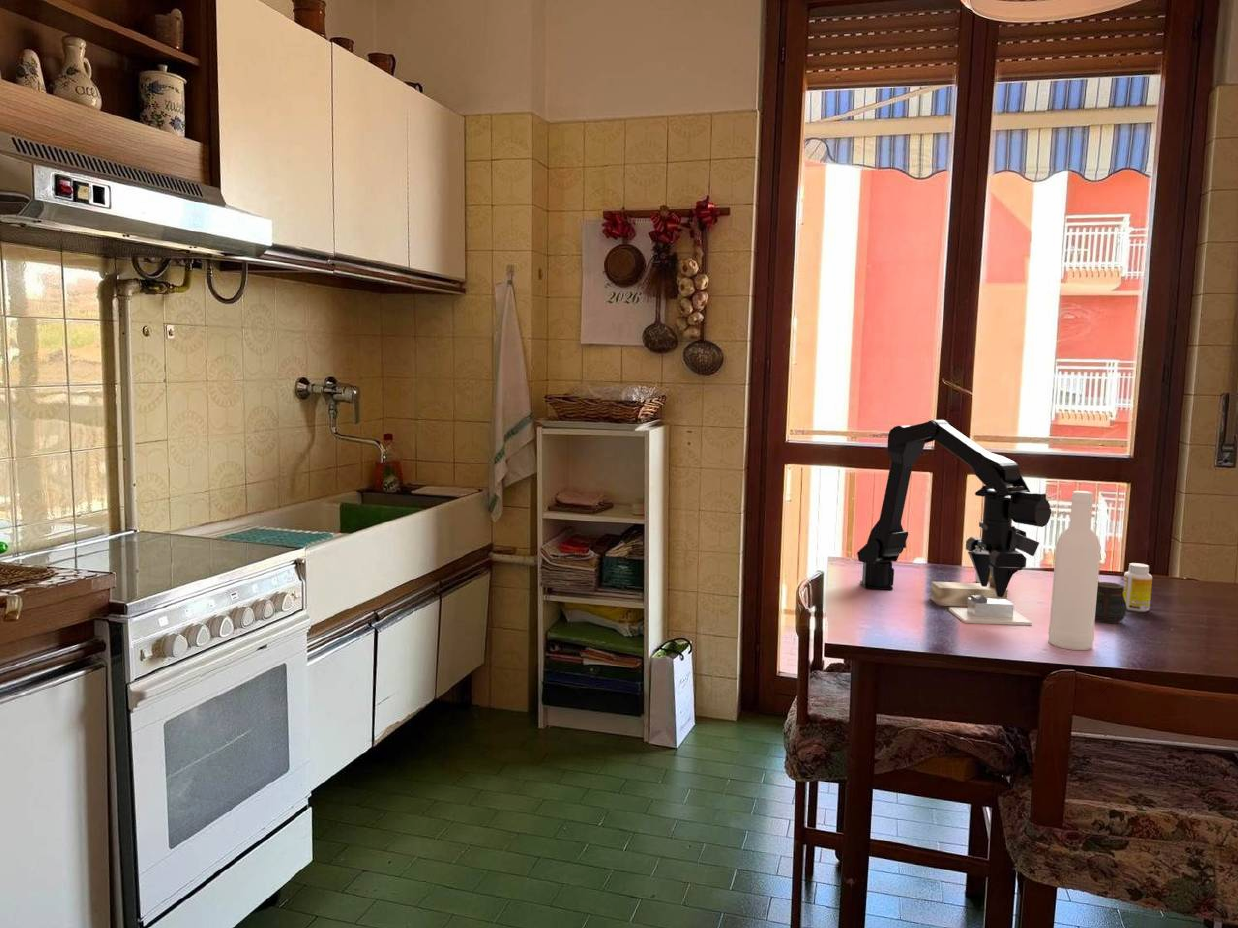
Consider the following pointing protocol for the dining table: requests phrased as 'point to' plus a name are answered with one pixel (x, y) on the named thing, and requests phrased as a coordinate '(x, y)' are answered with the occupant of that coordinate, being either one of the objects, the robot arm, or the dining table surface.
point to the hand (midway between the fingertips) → (991, 591)
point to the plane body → (961, 592)
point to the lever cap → (989, 607)
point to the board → (969, 618)
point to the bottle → (1075, 579)
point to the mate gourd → (1110, 603)
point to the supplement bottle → (1137, 587)
